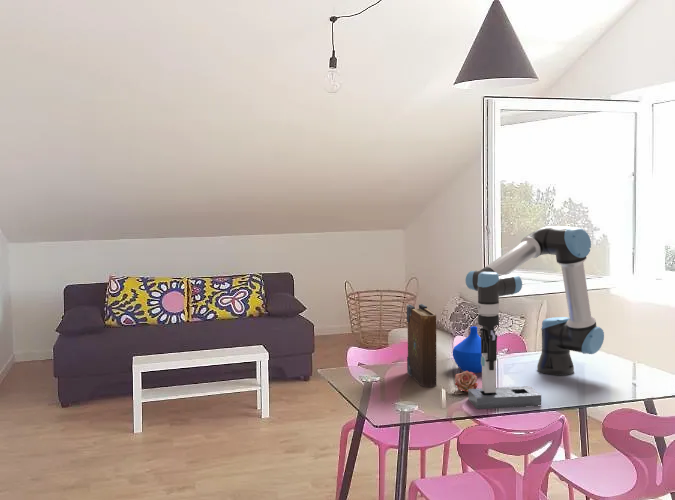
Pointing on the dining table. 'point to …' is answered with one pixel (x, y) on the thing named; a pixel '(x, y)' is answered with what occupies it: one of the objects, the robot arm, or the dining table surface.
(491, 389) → the plug
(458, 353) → the vase
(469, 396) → the panel
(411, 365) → the decorative book
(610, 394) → the dining table surface
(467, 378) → the flower
